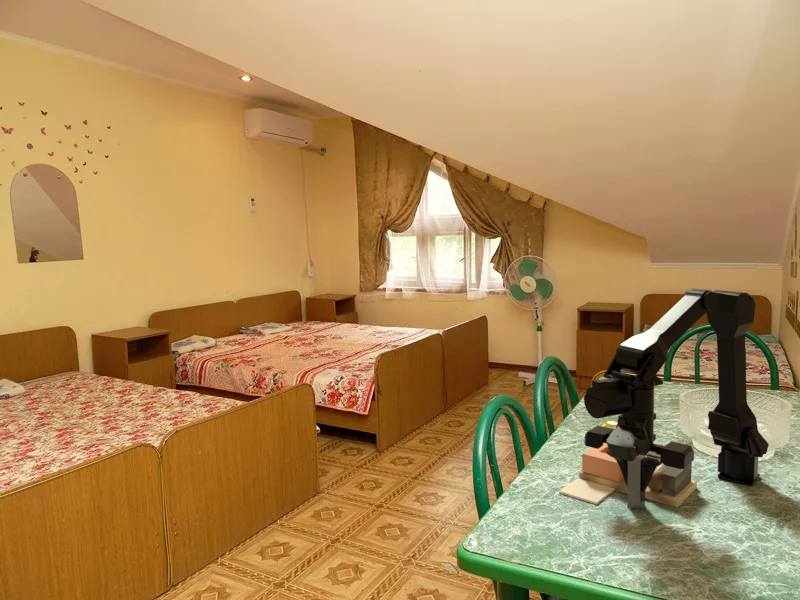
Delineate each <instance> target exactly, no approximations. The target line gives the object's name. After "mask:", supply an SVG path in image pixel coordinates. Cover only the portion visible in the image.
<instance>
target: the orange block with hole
mask: <svg viewBox="0 0 800 600" xmlns="http://www.w3.org/2000/svg"><path fill="white" fill-rule="evenodd" d="M607 451H608V446H607V443H603V446H602V447H600V448H599V449H596V448H592V447H590V448H589V449H587V450H586V451H584V452H583V453H582V457H581V458H582V461H581V462H582V463H581V464H582V467H581V469H582V470H581V471H582V472H585V473H589V474H592V475H596V476H599V477H603V478H607V479H610V480H614V481H617V482H620V481H621V480H622V479H624V477H623V475H622V472H621V469H620V467H619V465H618V463H617V461H616V460H615V459H614V458H613V457H611V456H609V455H608V454H607Z"/></svg>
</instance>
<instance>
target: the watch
mask: <svg viewBox="0 0 800 600" xmlns="http://www.w3.org/2000/svg"><path fill="white" fill-rule="evenodd" d="M617 424H618V421H617V422H616V421H612V420H609V421H606V422H605V423H604V424H602V426H603V427H607V428H616V426H617Z"/></svg>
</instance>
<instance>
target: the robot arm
mask: <svg viewBox="0 0 800 600" xmlns="http://www.w3.org/2000/svg"><path fill="white" fill-rule="evenodd" d="M755 310H756V302H755V298H754V297H752V296H751V294H750V293H748V292H742V291H729V290H719V289H718V290H717V289H716V290H713V291H712V290H710V289H702V288H701V289H700V288H691V289H688V290H686V291H685V292H684V294H683V296H682V298H681V299H679V301H678V302H676V304H674V306H672V307H671V309H669V310H668V311H667V312H666V313H665V314H663V316H662V317H661V318H660V319H659V320H658V321H656V322H655V323H654V324H653V325H652V326H651V327H650V328H649V329H647V330H646V331H644V332H642V333H639V334H636V335H633V336H631V337H630V338H628V339H627V340H625V341H623V342H622V343H621V344H620V345H619V346H618V347H617V348H616V351H615V355H614V357H613V358H612V360H611V362H610V364H609V365H608V366H607V369H606V370H605V372H604V374H603V378H604V379H592V381H591V386H590V387H588V388H587V390H586V391H585V394H584V396H583V403H584V407H585V409H586V411H587V413H588V415H590V417H592V418H594V419H603V418H608V417H612V416H617V415H618V416H617V423H618V424H617V426H616V427H615V429H614V428H613V427H608V426H607V427H603V425H596V426H595V427H593V428H591V429H589V430H588V431H586V432H585V434H584V436H583V437H584V439H583V441H584V442H583V443H584V446H585V447H588V448H596V449H599V448H600V447H602V446H603V443H607V446H608V451H607V454H608V455H609V456H611V457H613V458H614V459H615V460H616V461H617V463H618V465H619V467H620V469H621V472H622V475H623V477H624V480H625V483H626V485H627V487H628V461H634V460H635V459H636V456H639V455H643V456H646V458H644V459H643V460H642V461H641V464H642V466H643V469H642V480H641V490H642V492H644V491H645V490H646V488H647V486H648V484H649V482H650V480H651V478H652V475H653V473H654V471H655V470H656V469H657V467H658V468H659V467H661V466H660V465H665V466H669V467H673V468H677V469H685V468H686V467H687V466H688V465H689V464H690V463H691V462H693V461H695V451H694V448H693V447H692V446H691V445H690V444H685V443H680V442H676V441H670V442H669V443H667V444H666V445H662V444H657V443H654V441H656V440H657V434H655V433H654V426H655V424H654V422H655V420H657V413H655V387H656V386H662V385H664V380H662V379H661V378H660V377H659V376H657V374H658V373H659V372H660V370H661V369H662V367H663V366H664V364H666V362H667V361H668V355H669V351H670V349H671V348H672V347H673V346H674V345H675V343H677V342H678V341H679V340H680V339H681V338H682V337H684V335H685V334H686V333H687V332H688V331H689V330H690V329H691V328H692V327H693V326H694V325H695V324H697V322H698V321H699V320H701V318H702V317H703V316H705V314H706V319H707V322H708V324H709V326H710V328H711V329H712V330H713V332H714V333H715V336H716V349H717V350H716V353H717V354H716V355H717V383H718V384H717V385H718V386H717V387H718V403H717V404H716V406H715V407H714V409H713V410H709V411H708V413H707V417H708V426H707V430H709V431H710V435H711V436H712V440H713V443H714V445H715V446H719V447H720V449H721V450H720V452H718V453H717V472H718V473H719V474H717V478H718V479H721V480H725V481H730V482H732V483H733V482H734V483H737V484H742V485H746V486H749V487H752V486H754V485H755V483H756V482H757V481H758V480H759V478H760V477H761V474H760V473H759V458H763V456H764V455H766V454H767V453H768V448H769V443H768V442H767V440H766V439H765V437H763V435H762V433H760V432H759V428H758V421H757V417H756V415H755V414H754V412H753V411H752V409H751V407H750V406H749V404H748V401H747V400H748V397H747V396H748V394H747V366H746V365H747V363H746V362H747V361H746V358H747V357H746V334H747V332H748V331H749V330H750V328H751V327H752V325H753V323H754V321H755V314H756V313H755ZM628 373H629V374H628Z"/></svg>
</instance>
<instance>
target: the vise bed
mask: <svg viewBox="0 0 800 600" xmlns="http://www.w3.org/2000/svg"><path fill="white" fill-rule="evenodd" d="M692 462H693V461H692ZM692 462H691V463H690V464H689V465H688V466H687V467H686V468H685V469H677V468H673V467H669V466H665V465H664V464H662V466H659V467H658V469H657V470H656V469H655V471H654V473H653V475H652V478H651V480H650V482H649V484H648V486H647V488H646V490H645V499H646V498H647V499H646V500H649V501H653V500H654V502H658V503H660V504H664V505H668V506H672V507H674V508H678V507H680V505H682V503H684V501H685V500H687V498H688V497H689V496H690V495H691V494H693V492H694V491H696V489H697V485H698V484H697V483H698V482H697V480H694V479H692V468H693V467H692ZM578 475H579V476H578V477H579V478H580V479H583V480H586V481H590V482H593V483H597V484H600V485H604V486H607V487H611V488H614V489H615V491H619V492H622V493H626V494H627V491H628V487H627V485H626V483H625V480H624V479H622V480H621V481H620V482H617V481H614V480H610V479H607V478H603V477H599V476H596V475H592V474H589V473H585V472H582V470H580V471H579V472H578Z"/></svg>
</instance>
